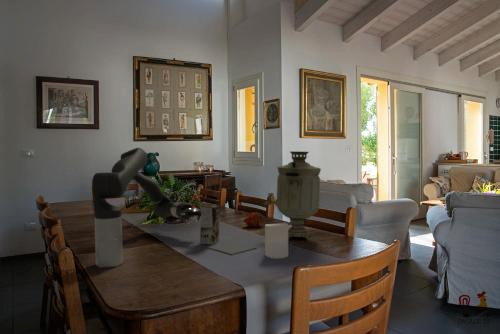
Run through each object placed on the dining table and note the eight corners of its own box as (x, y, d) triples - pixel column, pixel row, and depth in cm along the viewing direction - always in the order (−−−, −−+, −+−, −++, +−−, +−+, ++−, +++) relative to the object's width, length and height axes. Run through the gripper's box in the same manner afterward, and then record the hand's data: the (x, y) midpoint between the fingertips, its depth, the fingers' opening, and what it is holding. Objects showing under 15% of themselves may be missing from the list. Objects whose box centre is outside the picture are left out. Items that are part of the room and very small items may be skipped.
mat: (256, 248, 161) (256, 247, 161) (231, 254, 151) (231, 253, 151) (231, 241, 172) (231, 241, 172) (206, 247, 162) (206, 246, 162)
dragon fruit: (266, 228, 208) (245, 233, 204) (260, 217, 214) (239, 222, 210) (268, 217, 202) (247, 222, 198) (261, 206, 208) (241, 211, 204)
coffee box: (213, 245, 167) (215, 208, 166) (199, 243, 168) (200, 206, 167) (219, 240, 176) (220, 205, 175) (205, 238, 177) (207, 203, 176)
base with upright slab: (269, 259, 145) (269, 227, 144) (262, 253, 153) (262, 223, 153) (291, 257, 147) (291, 226, 146) (283, 251, 156) (283, 221, 155)
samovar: (281, 228, 200) (281, 151, 198) (330, 233, 187) (330, 151, 185) (252, 240, 174) (251, 151, 173) (306, 247, 161) (306, 151, 159)
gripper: (170, 204, 181) (192, 207, 169) (193, 201, 190) (215, 204, 178) (170, 220, 181) (192, 224, 169) (193, 216, 191) (215, 220, 178)
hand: (204, 214), depth 174 cm, fingers closed
